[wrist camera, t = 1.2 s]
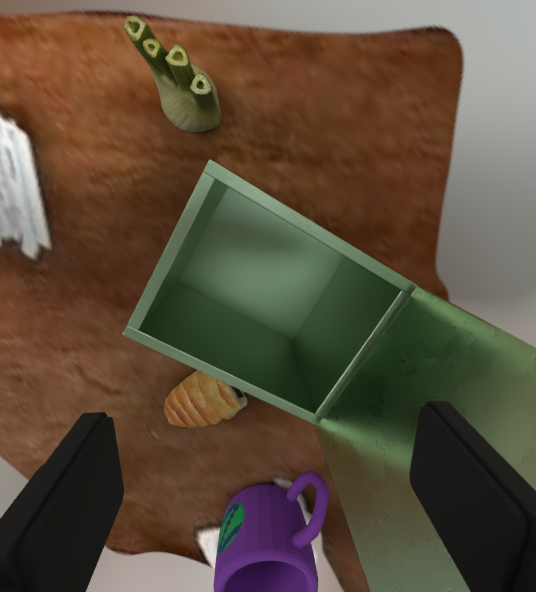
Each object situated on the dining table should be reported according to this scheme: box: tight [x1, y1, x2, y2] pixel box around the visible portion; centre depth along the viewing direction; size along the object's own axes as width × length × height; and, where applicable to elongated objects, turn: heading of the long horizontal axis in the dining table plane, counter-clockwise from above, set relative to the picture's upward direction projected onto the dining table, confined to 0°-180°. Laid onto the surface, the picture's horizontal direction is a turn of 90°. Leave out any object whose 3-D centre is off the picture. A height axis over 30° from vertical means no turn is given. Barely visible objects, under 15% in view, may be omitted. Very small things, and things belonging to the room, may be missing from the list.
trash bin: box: [123, 160, 417, 426], centre depth 29 cm, size 16×13×14 cm
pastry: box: [164, 370, 247, 428], centre depth 37 cm, size 9×7×4 cm
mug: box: [214, 471, 329, 592], centre depth 39 cm, size 17×11×10 cm, turn 143°
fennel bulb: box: [124, 16, 221, 133], centre depth 25 cm, size 6×5×12 cm
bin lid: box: [316, 286, 536, 592], centre depth 15 cm, size 16×13×1 cm
